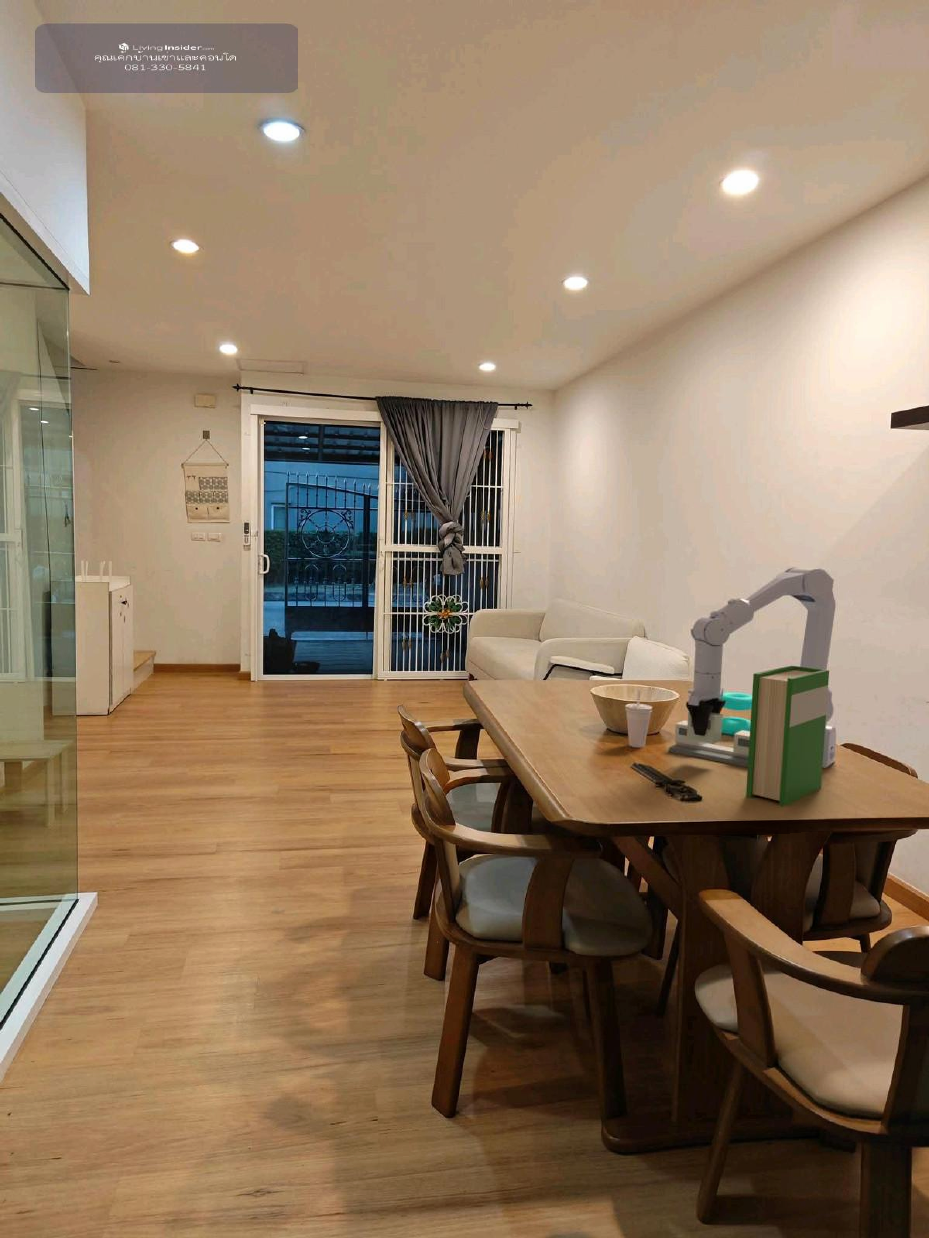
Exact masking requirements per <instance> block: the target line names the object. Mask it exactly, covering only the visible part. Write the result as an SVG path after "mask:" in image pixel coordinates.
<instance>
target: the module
mask: <svg viewBox="0 0 929 1238" xmlns="http://www.w3.org/2000/svg"><path fill="white" fill-rule="evenodd" d="M687 712H688V713H687V721H688V726H687V739H688V740H694V741H699V742H705V743H710V744H717V743H719V742H721V741H722V733H721V732H722V718H724V717H723V715H724V714H723V713H720V714H718V713H710V716H709V719H708V724H707V730H706V733H705V736H701V735H695V733H694V728H693V723H692V719H691V715H690V713H689V711H687Z"/></svg>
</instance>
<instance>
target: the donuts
mask: <svg viewBox="0 0 929 1238" xmlns="http://www.w3.org/2000/svg"><path fill="white" fill-rule="evenodd" d="M719 699H723V700H726V703H725V705H724V706H723V708H724V709H727V710H730V711H742V712H743V711H751V707H752V694H748V693H744V692H743V693H742V692H723V697H719ZM750 723H751V720H749V719H746V718H743V717H739V716H738V717H736V716H726V717H722V732H721V734H723V735H724V734H725V735H727V736H728V735H729V736H734V734H735V733H737V732H740V731H742V730H744V731H750Z"/></svg>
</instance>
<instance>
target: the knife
mask: <svg viewBox="0 0 929 1238" xmlns="http://www.w3.org/2000/svg"><path fill="white" fill-rule="evenodd" d="M630 768H633V769H634V770H635V771H637V772H638V773H641V774H642V775H643V776H645V777H646V778H647V779H649V780H651V781H652V780H653V781H652V782H653V783H654V785H655V786H654V787H655V788H661V787H665V793H666V794H668V795H669V794H671V795H670V796H671V797H674V796H675V795H676V796H680V798H679V800H680V801H681V802H683V801H685V803H689V802H690V801H691V802H692V803H693V802H701V801H703V796H702V795H701V794H699V793H698V791H697V790H696V789H695V788H693V787H692V786H690V785H686V781H685V780H682V779H672V778H671V777H669V776H667V775H665V774H664V773H662V772H661V771H659V770H657V769H656V768H654V767H653V766H651V765H647V764H642V763H636V762H632V764H631V766H630ZM669 784H670V785H669ZM658 785H659V786H658ZM674 786H675V787H674ZM686 792H688V793H686ZM686 796H687V797H686ZM686 801H687V802H686ZM691 802H690V803H691Z"/></svg>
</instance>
